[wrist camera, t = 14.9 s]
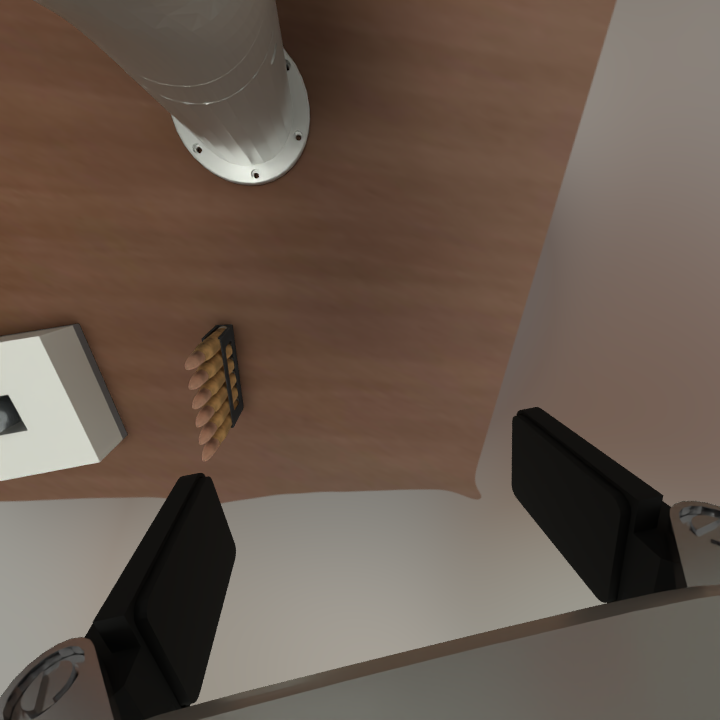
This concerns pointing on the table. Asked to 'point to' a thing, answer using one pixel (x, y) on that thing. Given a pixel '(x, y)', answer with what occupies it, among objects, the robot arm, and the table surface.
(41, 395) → the socket block
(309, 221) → the table surface
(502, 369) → the table surface
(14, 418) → the pin
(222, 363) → the ammunition clip
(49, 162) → the table surface
